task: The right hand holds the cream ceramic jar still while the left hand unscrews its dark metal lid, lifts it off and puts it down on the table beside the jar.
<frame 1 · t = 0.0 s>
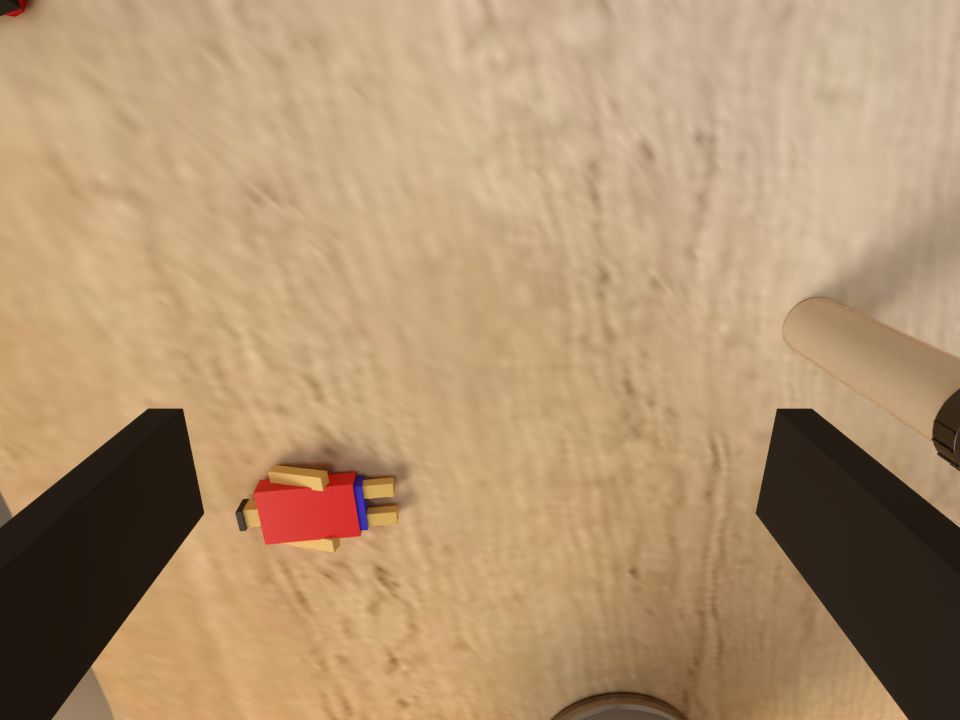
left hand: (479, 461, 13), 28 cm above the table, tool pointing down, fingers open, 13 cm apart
jar: (812, 325, 41), on the table
toy figure: (323, 498, 46), on the table
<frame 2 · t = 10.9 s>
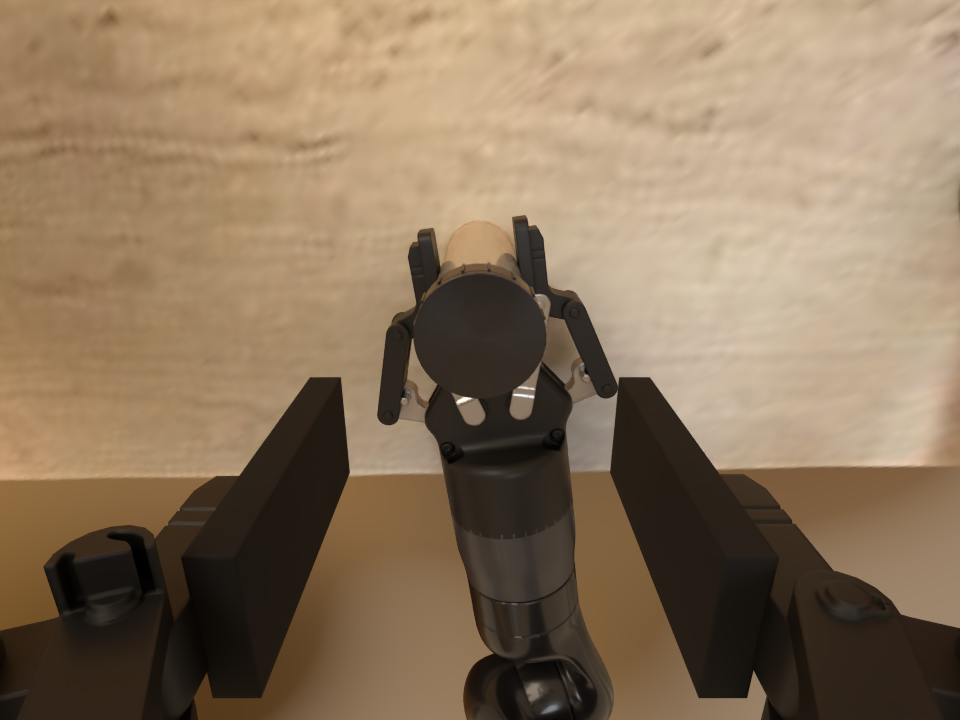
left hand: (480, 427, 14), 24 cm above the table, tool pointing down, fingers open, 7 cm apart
right hand: (472, 226, 29), fingers closed on jar, 4 cm apart
jar: (479, 254, 37), on the table, touching right hand
lid: (479, 335, 21), point 16 cm above the table, screwed on, not yet turned
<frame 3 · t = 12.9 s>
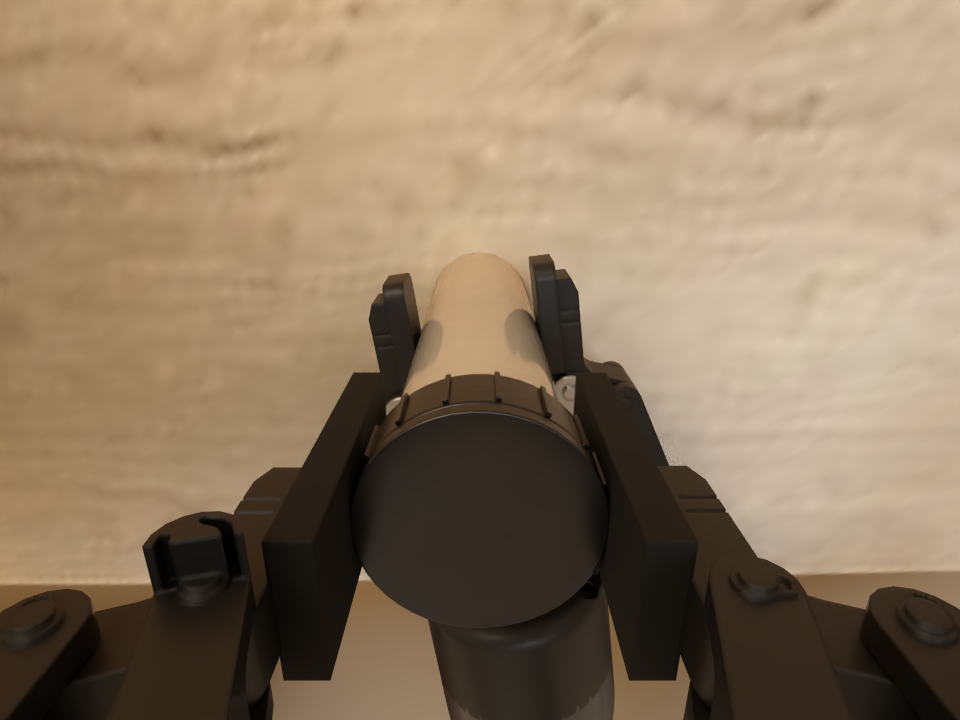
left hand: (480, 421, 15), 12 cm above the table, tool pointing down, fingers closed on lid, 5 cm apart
jar: (479, 298, 26), on the table, touching right hand
lid: (479, 517, 11), point 16 cm above the table, screwed on, not yet turned, touching left hand
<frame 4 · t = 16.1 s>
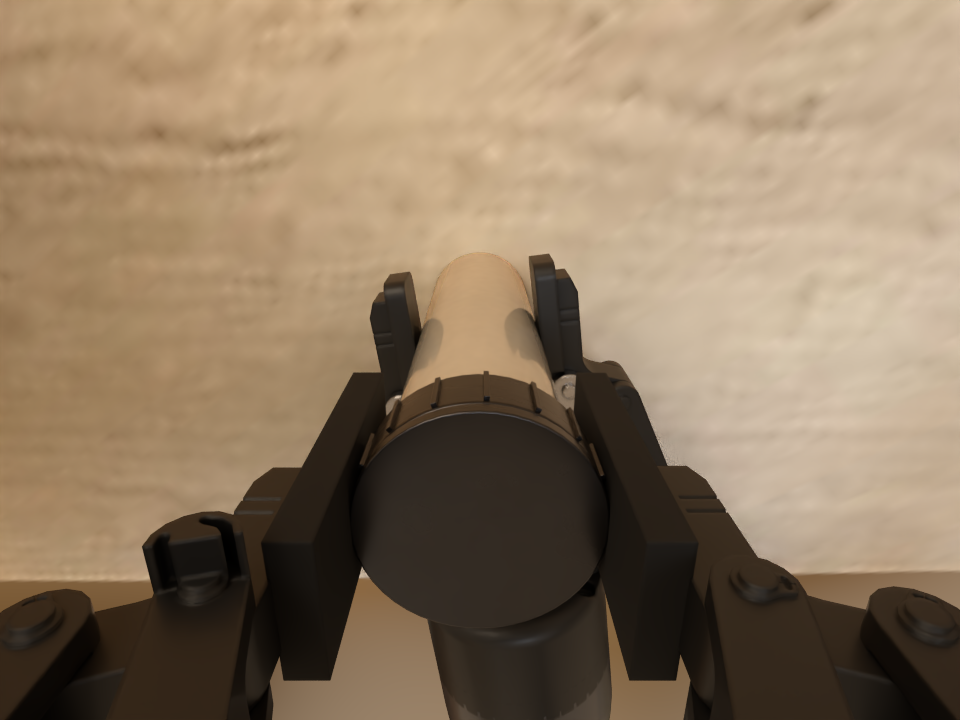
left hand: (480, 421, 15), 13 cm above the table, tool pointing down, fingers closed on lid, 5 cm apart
jar: (479, 297, 27), on the table, touching right hand
lid: (479, 517, 11), point 17 cm above the table, turned 95° so far, risen 0.2 cm, still on its thread, touching left hand
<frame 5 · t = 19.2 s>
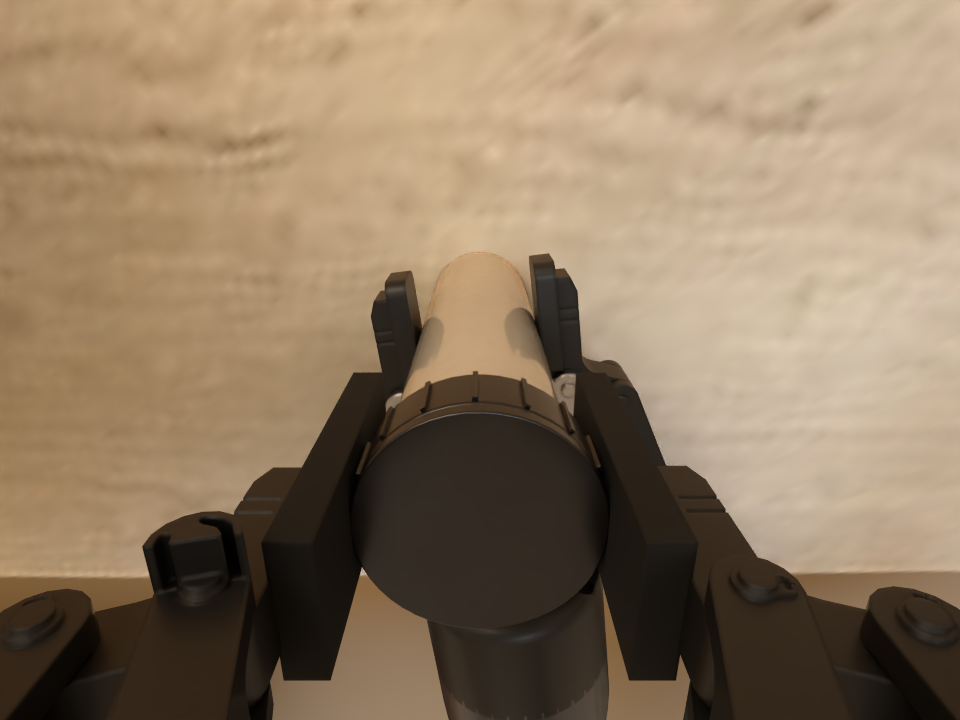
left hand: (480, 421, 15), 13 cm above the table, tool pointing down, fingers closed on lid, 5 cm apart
jar: (479, 297, 27), on the table, touching right hand
lid: (479, 517, 11), point 17 cm above the table, turned 191° so far, risen 0.3 cm, still on its thread, touching left hand
when the left hand's fingers open (0 cm above the table, at t = 28.7 s): lid drops 2 cm, point 1 cm above the table.
when the right hand's fingers open (7 cm above the table, at t = 29.3 s): jar stays where it is, on the table.
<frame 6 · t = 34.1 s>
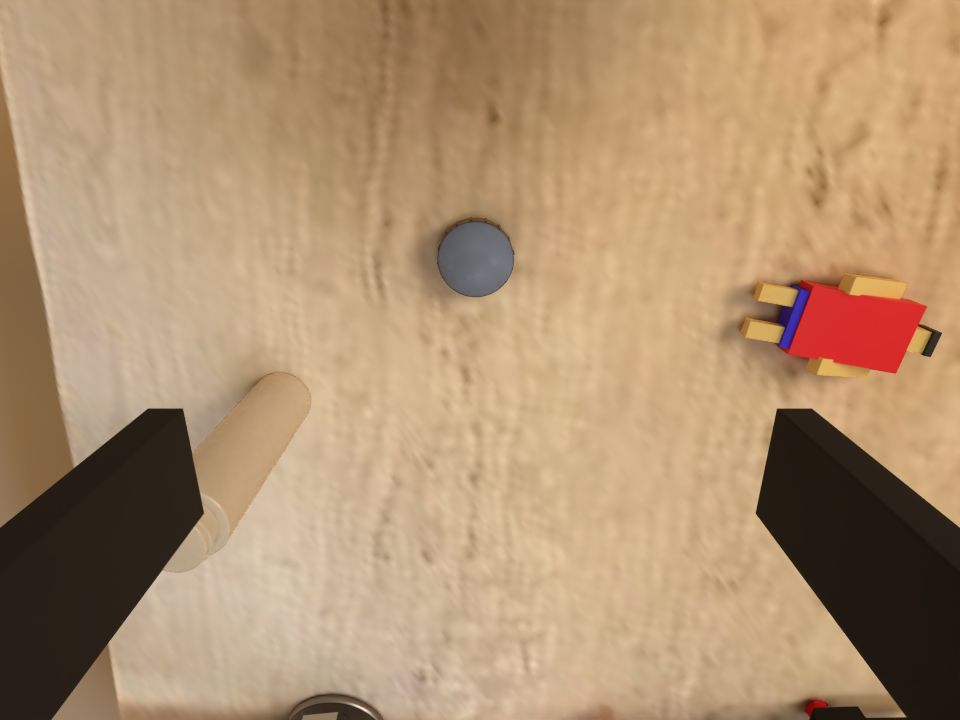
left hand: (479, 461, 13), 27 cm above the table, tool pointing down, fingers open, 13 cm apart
jar: (282, 398, 42), on the table
lid: (475, 259, 37), point 1 cm above the table, off its thread
toy figure: (828, 319, 40), on the table
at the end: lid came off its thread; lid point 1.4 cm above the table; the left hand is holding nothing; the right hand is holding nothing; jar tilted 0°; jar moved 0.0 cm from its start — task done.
